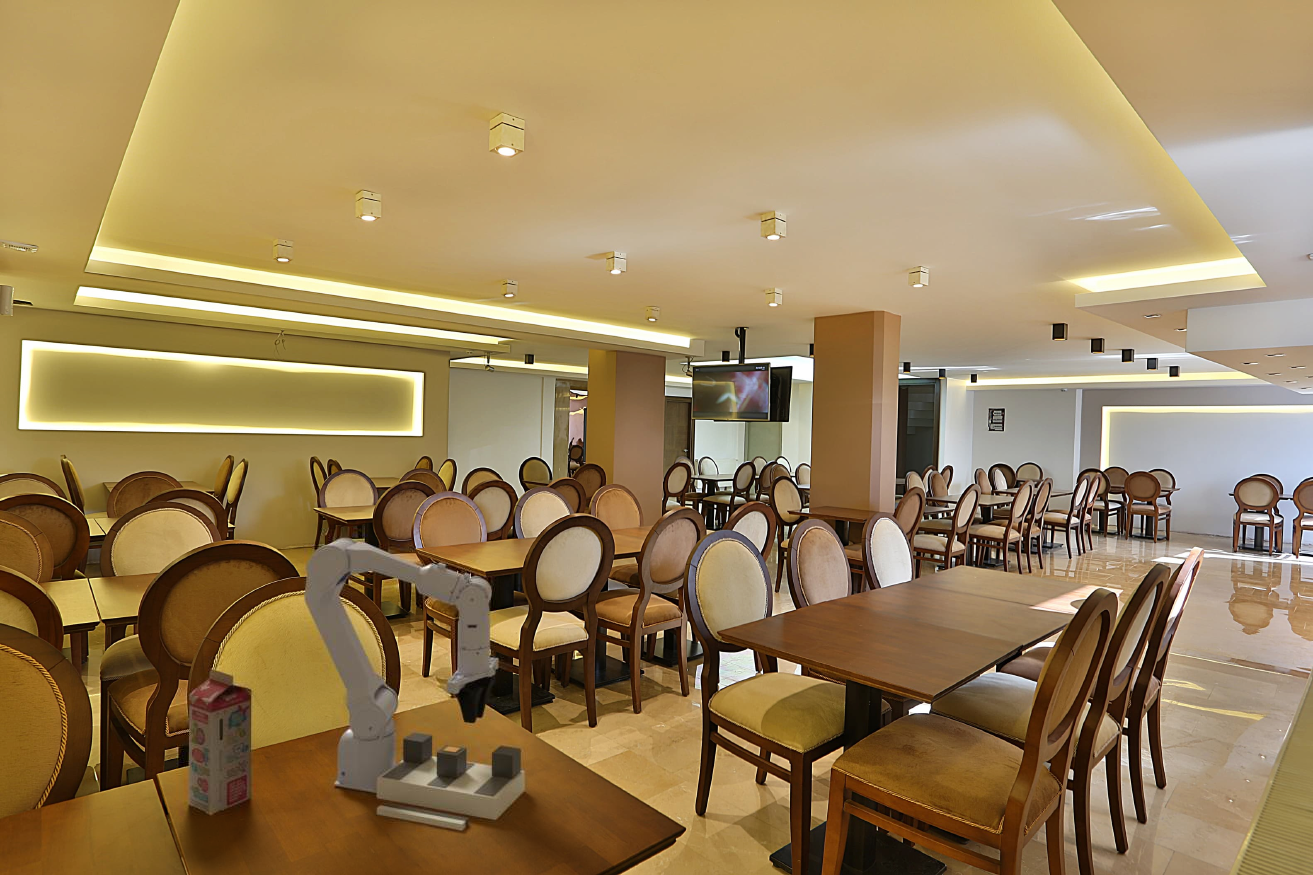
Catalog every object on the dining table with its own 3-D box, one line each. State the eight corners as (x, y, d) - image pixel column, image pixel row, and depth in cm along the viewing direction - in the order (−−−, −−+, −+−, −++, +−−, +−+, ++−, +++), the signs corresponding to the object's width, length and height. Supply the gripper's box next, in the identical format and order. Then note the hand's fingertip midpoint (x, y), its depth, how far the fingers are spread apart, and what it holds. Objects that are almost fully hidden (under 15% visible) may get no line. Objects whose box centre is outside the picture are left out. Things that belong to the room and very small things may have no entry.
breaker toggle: (436, 775, 123) (436, 750, 123) (446, 767, 126) (446, 743, 126) (456, 778, 122) (457, 754, 122) (466, 770, 125) (466, 746, 125)
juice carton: (228, 787, 126) (229, 663, 126) (250, 797, 122) (251, 669, 122) (188, 804, 120) (189, 674, 120) (210, 815, 117) (211, 681, 116)
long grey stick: (376, 814, 117) (376, 807, 117) (384, 808, 119) (384, 802, 119) (462, 830, 113) (462, 824, 113) (468, 824, 115) (468, 817, 115)
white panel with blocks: (376, 797, 123) (377, 753, 123) (412, 771, 132) (412, 730, 132) (495, 819, 116) (496, 773, 116) (524, 790, 125) (524, 747, 125)
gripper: (471, 659, 123) (471, 738, 123) (512, 636, 136) (512, 707, 136) (436, 655, 125) (435, 732, 125) (480, 633, 138) (479, 703, 139)
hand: (473, 719), depth 131 cm, fingers closed
